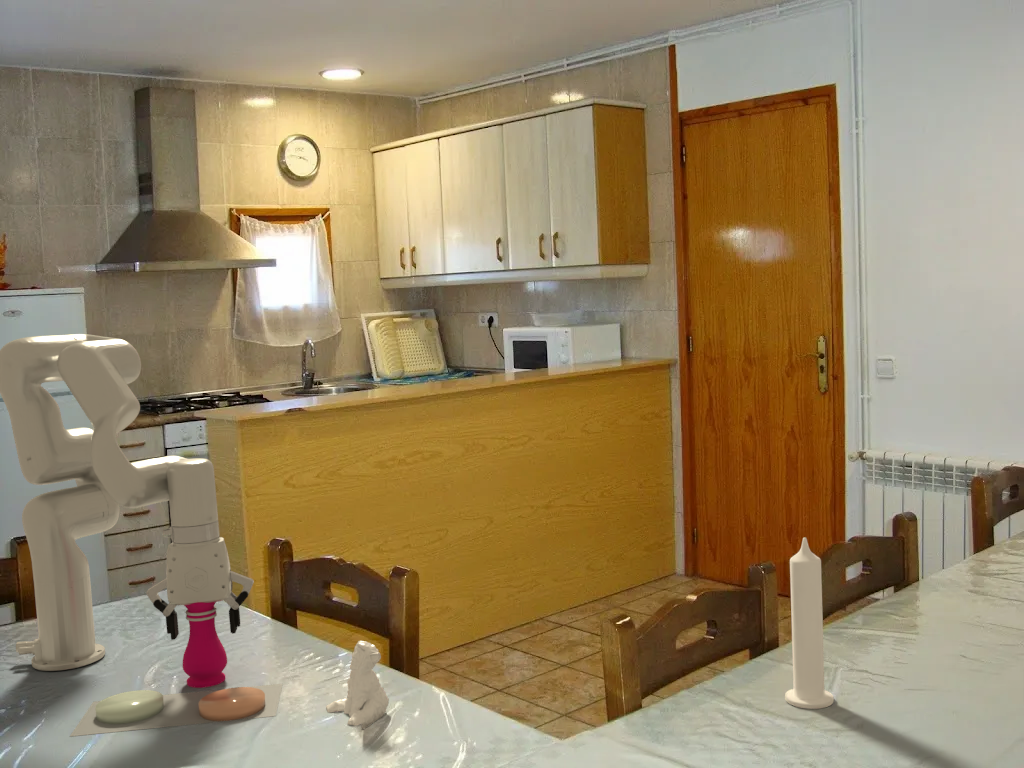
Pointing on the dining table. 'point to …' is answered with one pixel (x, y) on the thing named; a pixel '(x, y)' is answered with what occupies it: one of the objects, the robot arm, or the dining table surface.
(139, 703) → the pale green domed disc
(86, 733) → the board
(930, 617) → the dining table surface
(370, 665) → the sitting furry creature
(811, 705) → the candle
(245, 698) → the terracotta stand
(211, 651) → the pepper mill
